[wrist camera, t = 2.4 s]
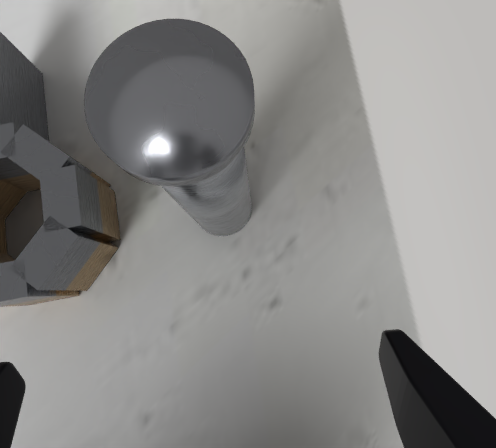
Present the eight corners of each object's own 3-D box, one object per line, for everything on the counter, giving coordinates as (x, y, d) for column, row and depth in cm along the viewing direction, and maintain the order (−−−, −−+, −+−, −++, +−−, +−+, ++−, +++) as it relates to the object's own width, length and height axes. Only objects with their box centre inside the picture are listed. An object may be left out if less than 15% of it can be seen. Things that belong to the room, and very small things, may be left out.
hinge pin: (273, 197, 23) (287, 72, 10) (231, 258, 22) (186, 211, 9) (213, 158, 24) (151, -9, 10) (171, 216, 23) (49, 117, 10)
